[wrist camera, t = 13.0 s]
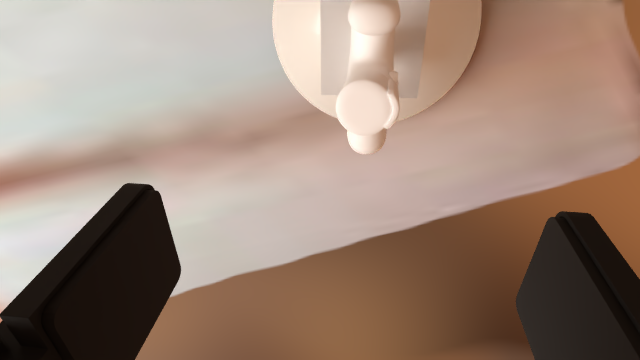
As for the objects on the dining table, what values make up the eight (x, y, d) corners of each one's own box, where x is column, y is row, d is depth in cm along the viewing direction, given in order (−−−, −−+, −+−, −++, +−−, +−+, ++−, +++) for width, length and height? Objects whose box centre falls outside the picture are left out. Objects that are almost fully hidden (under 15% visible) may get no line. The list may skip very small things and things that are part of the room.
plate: (270, -94, 28) (265, -95, 27) (500, -95, 27) (507, -96, 25) (281, 113, 37) (278, 119, 36) (455, 122, 35) (458, 129, 34)
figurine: (326, 91, 34) (296, 190, 21) (326, -33, 28) (286, 0, 16) (411, 94, 33) (433, 198, 20) (427, -33, 28) (468, 2, 15)
